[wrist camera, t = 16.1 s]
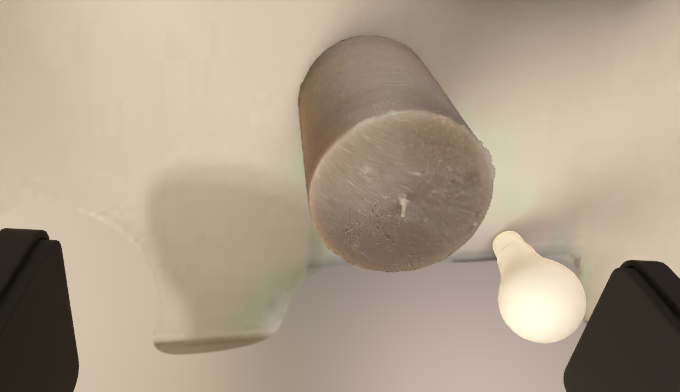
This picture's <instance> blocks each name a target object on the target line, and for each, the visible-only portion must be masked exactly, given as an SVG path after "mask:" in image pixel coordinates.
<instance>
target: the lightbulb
mask: <svg viewBox="0 0 680 392" xmlns="http://www.w3.org/2000/svg"><path fill="white" fill-rule="evenodd" d="M492 247H493V251H494V253H495V255H496V257H497V265H498V267H499V270H500V273H501V282H500V286H499V293H498V304H499V310H500V313H501V315H502V317H503V319H504V321H505V322H506V324H507V325H508V326H509V327H510V328H511V329H512V330H513V331H514V332H515V333H516V334H518V335H519V336H520V337H522V338H525V339H527V340H530V341H533V342H538V343H553V342H556V341H560V340H562V339H564V338H566V337H568V336H569V335H571V334H572V333H573V332H574V331H575V330H576V329H577V328H578V327H579V325H580V324H581V322H582V320H583V318H584V314H585V310H586V296H585V292H584V289H583V287H582V284H581V282H580V281H579V279H578V278H577V277H576V275H575V274H574V273H573V272H572V271H570V270H569V269H568V268H567V267H565V266H563V265H562V264H559V263H558V262H555V261H553V260H550V259H547V258H543V257H541V256H540V255H539V254H537V253H536V252H535V250H534V249H533V248H532V247H531V246H530V245H529V244H527V243H526V242H525V241H524V240H523V238H522V237H521V236H520V235H519V234H518V233H517V232H514V231H505V232H502V233H500V234H499V235H497V236H496V238H495V239H494V241H493V244H492Z"/></svg>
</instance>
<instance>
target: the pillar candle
mask: <svg viewBox="0 0 680 392" xmlns="http://www.w3.org/2000/svg"><path fill="white" fill-rule="evenodd" d="M298 106H299V117H300V127H301V138H302V149H303V158H304V167H305V177H306V186H307V194H308V203H309V210H310V215H311V219H312V221H313V224H314V226H315V228H316V231H317V233H318V234H319V236H320V238H321V239H322V240H323V242H324V243H325V245H326V246H327V247H328V249H330V250H332V251H333V252H334V253H335V254H337V255H338V256H340V257H341V258H343V259H344V260H346V261H347V262H349V263H352V264H353V265H357V266H360V267H362V268H366V269H371V270H378V271H385V272H398V271H407V270H415V269H420V268H422V267H426V266H428V265H431V264H434V263H436V262H438V261H440V260H442V259H444V258H446V257H447V256H449V255H451V254H452V253H454V252H455V251H456V250H458V249H459V248H460V247H461V246H462V245H464V244H465V243H466V242H467V241H468V240H469V239H470V238H471V237H472V236H473V235H474V233H475V232H476V230H477V229H478V227H479V226H480V224H481V222H482V221H483V219H484V217H485V215H486V213H487V210H488V208H489V206H490V202H491V199H492V192H493V179H494V177H495V168H494V166H493V165H492V163H491V161H492V160H491V156H490V153H489V150H487V148H485V147H483V143H482V142H481V141H479V140H478V139H477V137H476V136H475V135H474V134H473V132H472V131H471V130H470V128H469V127H468V125H467V124H466V122H465V121H464V120H463V118H462V117H461V115H460V114H459V112H458V111H457V109H456V108H455V107H454V105H453V104H452V102H451V101H450V99H449V98H448V97H447V95H446V94H445V92H444V91H443V89H442V88H441V87H440V85H439V84H438V82H437V81H436V80H435V78H434V77H433V76H432V74H431V73H430V72H429V70H428V69H427V67H426V66H425V65H424V63H423V62H422V61H421V60H420V58H419V57H418V56H417V55H416V54H415V53H414V52H413V51H412V50H411V49H410V48H408V47H407V46H405V45H403V44H401V43H399V42H397V41H394V40H391V39H388V38H384V37H377V36H358V37H354V38H350V39H346V40H343V41H341V42H339V43H337V44H336V45H334V46H332V47H330V48H328V49H327V50H326V51H325V52H323V53H322V54H321V55H320V56H319V57H318V58H317V60H316V61H315V62H314V63H313V65H312V66H311V67H310V69H309V71H308V73H307V75H306V77H305V80H304V81H303V82H302V84H301V87H300V92H299V98H298Z"/></svg>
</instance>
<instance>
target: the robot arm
mask: <svg viewBox="0 0 680 392" xmlns="http://www.w3.org/2000/svg"><path fill="white" fill-rule="evenodd" d="M78 370H79V361H78V354H77V347H76V341H75V335H74V327H73V321H72V314H71V307H70V301H69V294H68V287H67V280H66V274H65V267H64V260H63V254H62V248H61V244H60V242H59V241H57V240H49V236H48V234H47V232H46V231H44V230H30V229H11V228H10V229H9V228H5V229H2V230H1V231H0V392H73V391H74V388H75V385H76V382H77V378H78ZM564 385H565V389H566V392H680V278H679V277H678V276H677V275H676V274H675V273H674V272H673V271H672V270H671V269H670V268H669V267H668V266H667V265H665V264H664V263H662V262H658V261H640V260H629V261H626V262H624V263H623V264H622V265H621V266H620V268H617V269H615V270H614V271H613V272H612V274H611V276H610V278H609V280H608V282H607V284H606V286H605V288H604V290H603V292H602V295H601V297H600V299H599V301H598V303H597V305H596V307H595V309H594V311H593V313H592V315H591V317H590V319H589V321H588V323H587V325H586V328H585V330H584V332H583V334H582V336H581V338H580V340H579V342H578V344H577V346H576V348H575V350H574V353H573V354H572V356H571V359H570V361H569V363H568V365H567V367H566V369H565V372H564Z"/></svg>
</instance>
